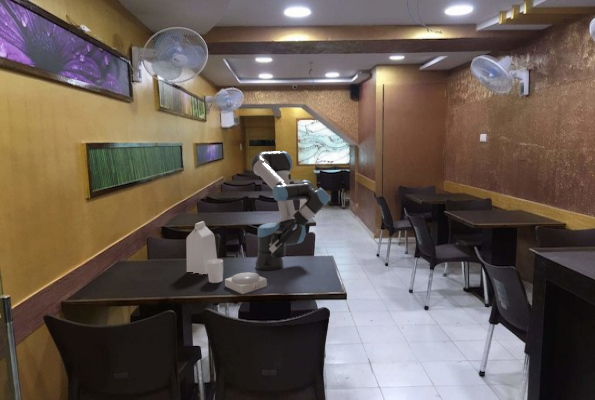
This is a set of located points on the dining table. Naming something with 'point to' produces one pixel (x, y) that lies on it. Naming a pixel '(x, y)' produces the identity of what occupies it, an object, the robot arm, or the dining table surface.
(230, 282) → the dial scale
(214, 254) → the milk
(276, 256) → the supplement bottle
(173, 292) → the dining table surface
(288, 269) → the dining table surface
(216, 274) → the white cup
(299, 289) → the dining table surface
